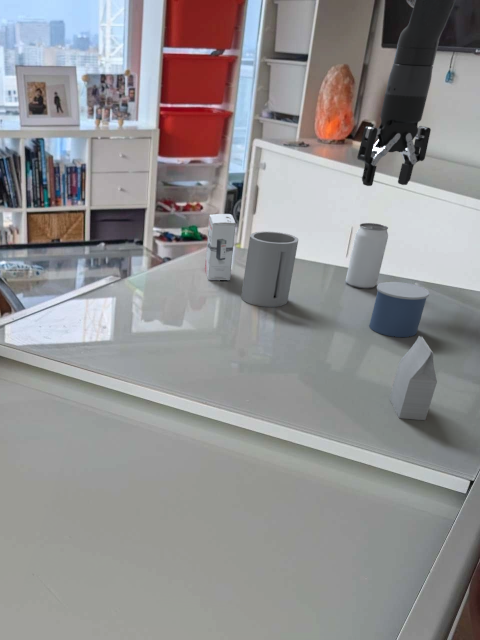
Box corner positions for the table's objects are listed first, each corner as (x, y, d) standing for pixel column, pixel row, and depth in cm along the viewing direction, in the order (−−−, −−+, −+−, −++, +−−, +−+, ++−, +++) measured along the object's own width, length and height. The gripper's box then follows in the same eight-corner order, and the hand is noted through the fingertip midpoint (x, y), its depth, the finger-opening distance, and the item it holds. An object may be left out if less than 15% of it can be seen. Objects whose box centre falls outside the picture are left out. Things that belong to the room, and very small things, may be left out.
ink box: (203, 268, 168) (209, 212, 162) (225, 269, 168) (233, 213, 162) (206, 280, 161) (213, 222, 154) (230, 281, 161) (238, 223, 154)
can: (340, 279, 165) (352, 222, 158) (368, 279, 166) (382, 222, 159) (352, 289, 160) (365, 230, 153) (381, 289, 160) (395, 230, 154)
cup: (259, 289, 157) (269, 229, 151) (296, 300, 152) (307, 239, 145) (232, 297, 152) (240, 235, 145) (268, 309, 147) (279, 246, 140)
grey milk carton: (398, 418, 109) (417, 352, 103) (389, 398, 114) (406, 334, 109) (425, 420, 109) (445, 354, 103) (414, 400, 114) (433, 336, 109)
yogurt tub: (397, 318, 145) (407, 280, 141) (429, 335, 138) (440, 295, 134) (357, 322, 142) (366, 283, 138) (388, 340, 135) (398, 299, 131)
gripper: (388, 94, 137) (366, 189, 146) (450, 94, 141) (426, 187, 150) (362, 90, 143) (343, 182, 152) (423, 90, 147) (401, 180, 156)
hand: (385, 184), depth 151 cm, fingers open, 8 cm apart
